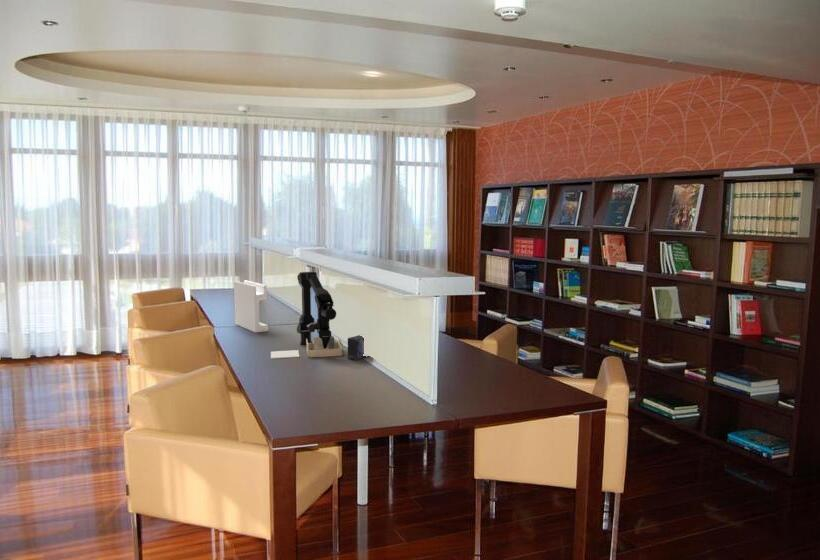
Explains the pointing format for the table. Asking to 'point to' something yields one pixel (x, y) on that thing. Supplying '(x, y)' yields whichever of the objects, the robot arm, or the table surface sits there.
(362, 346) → the small box
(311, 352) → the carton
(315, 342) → the block
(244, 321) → the block
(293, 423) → the table surface
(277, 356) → the white square tile
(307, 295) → the robot arm
